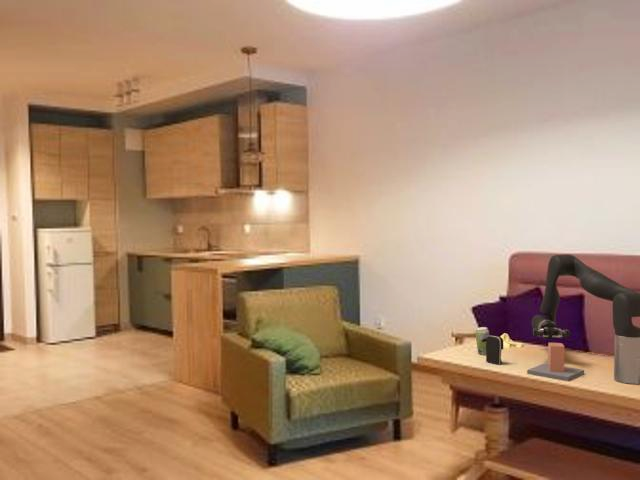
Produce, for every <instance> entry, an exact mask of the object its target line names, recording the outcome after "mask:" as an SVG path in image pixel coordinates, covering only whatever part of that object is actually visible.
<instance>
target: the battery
mask: <svg viewBox="0 0 640 480" xmlns="http://www.w3.org/2000/svg"><path fill="white" fill-rule="evenodd" d="M502 350H504V348H503V339H502V338H501V336H498V335H490V336H488V337H487V338H486V355H485V359H486V360H485V361H486V363H490V364H493V365H501V364H503V361H502Z"/></svg>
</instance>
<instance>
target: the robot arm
mask: <svg viewBox="0 0 640 480" xmlns="http://www.w3.org/2000/svg"><path fill="white" fill-rule="evenodd" d="M567 276H572V277H575V278H576V279H578V281H579V284H580V286H581V288H582V289H583V290H584V291H585V292H587V293H589V294H590V295H592V296H594V297H596V298H599V299H602V300H605V301H610V302H612V326H613V329H614V353H613V354H614V355H613V356H614V357H613V358H614V359H613V360H614V361H613V362H614V363H613V380H614V381H616V382H617V383H618V382H619V383H623V384H633V385H634V384H635V385H639V384H640V327H639V326H636V325H634V323H633V319H632V318H640V292H639V291H636V290H633V289H632V288H628V287H625V286H624V285H622V284H620V283H619V282H617V281H615V280H614V279H612V278H610V277H608V276H606V275H605V274H603V273H602V272H600V271H598V270H595V269H594V268H592V267H591V266H589V265H587V264H585V263H584V262H583V261H581V259H579V258H577V257H576V256H574V255H572V254H554V255H552V256H551V257H550V259H549V261H548V264H547V272H546V281H545V288H544V294H543V298H542V301H541V304H540V307H539V311H540V312H541V315H540V314H536V315H534V316H533V317H532V319H531V327H532V336H534V337H540V338H544V339H545V340H549V341H550V340H554V339H556V338H562V339H565V338H570V337H571V336H570V333H571V332H570V330H569V329H567V328H564V329H563V330H562V328H559V327H558V325H557V320H556V317H557V316H556V315H557V311H558V308H559V304H560V302H561V299H560V297H561V295H560V293H559V289H558V286H557V282H558V279H559V277H567ZM542 314H543V315H542Z"/></svg>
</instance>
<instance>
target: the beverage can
mask: <svg viewBox="0 0 640 480" xmlns="http://www.w3.org/2000/svg"><path fill="white" fill-rule="evenodd" d="M474 334H475V341H476V349H477V353H478V354H479V355H480V356H481V355H482V356H483V355H484V356H486V338H487V337H488V336H491V335H490V331H489V329H488V327H486V326H481V327H477V328H476V329H475V331H474Z"/></svg>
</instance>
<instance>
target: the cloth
mask: <svg viewBox="0 0 640 480" xmlns="http://www.w3.org/2000/svg"><path fill="white" fill-rule="evenodd" d="M500 337H501V338H502V339H503V349H506V348H507V349H508V350H509V349H511V346H512V347H517V348H523V347H525V344H524V343H523V342H516V341H513V340H512V339H511V338H510V336H509V334H508V333H505V332H504V333H503V334H502V335H500ZM507 349H506V350H507Z"/></svg>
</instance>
